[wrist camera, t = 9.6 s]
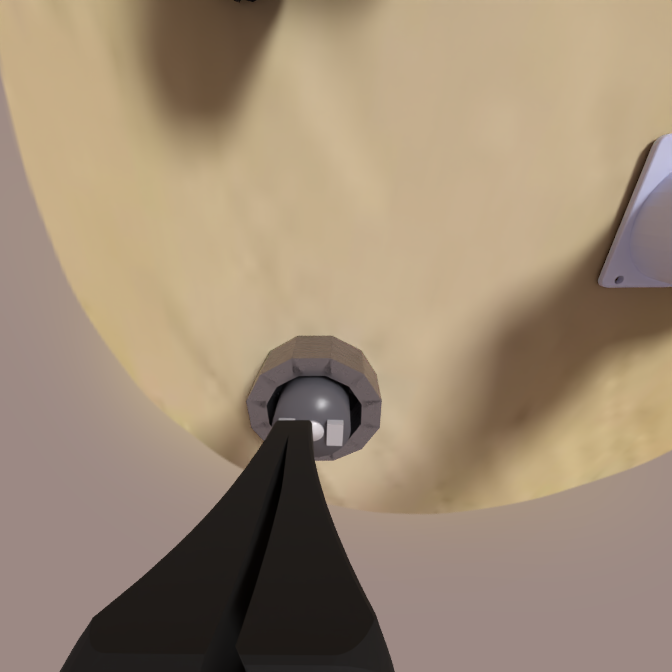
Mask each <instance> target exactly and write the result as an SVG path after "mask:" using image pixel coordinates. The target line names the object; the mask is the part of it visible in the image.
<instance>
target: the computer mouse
mask: <svg viewBox="0 0 672 672" xmlns="http://www.w3.org/2000/svg"><path fill="white" fill-rule="evenodd" d="M277 420H309V421H311V422H312V430H313V445H314V457H322V456H327V455H330V454H332V453H335V452H336V451H338V450H339V449H341V448H342V447H343V446H344V445H345V444H346V442H347V441H348V439H349V436H350V432H351V425H350V404H349V387H348V386H347V385H344V384H342V383H340V382H338V381H336V380H334V379H332V378H329V377H327V376H298V377H296V378H294V379H292V380H290V381H288V382H286V383H284V384H283V386H282V390H281V393H280V397H279V400H278V404H277V407H276V411H275V414H274V418H273V422H272V427H273V425H274V424H275V422H276V421H277Z"/></svg>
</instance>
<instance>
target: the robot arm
mask: <svg viewBox="0 0 672 672" xmlns="http://www.w3.org/2000/svg"><path fill="white" fill-rule="evenodd" d="M618 276H619V277H618ZM617 277H618V279H617V280H616V281H615V279H616V278H617ZM598 284H599V285H600V286H603V287H607V288H620V287H672V133H671V134H665V135H662V136H660V137H659V138H658V139H657V140H656V141H655V142H654V144H653V145H652V147H651V150H650V152H649V155H648V157H647V160H646V162H645V165H644V167H643V170H642V172H641V175H640V177H639V180H638V182H637V184H636V187H635V189H634V192H633V194H632V197H631V199H630V202H629V204H628V207H627V209H626V212H625V214H624V217H623V219H622V222H621V224H620V227H619V229H618V231H617V234H616V236H615V239H614V241H613V244H612V246H611V249H610V251H609V254H608V256H607V259H606V261H605V264H604V266H603V269H602V271H601V273H600V276H599V278H598ZM60 672H395V671H394V668H393V664H392V660H391V657H390V654H389V651H388V648H387V645H386V642H385V640H384V637H383V634H382V631H381V629H380V626H379V623H378V620H377V617H376V614H375V612H374V610H373V608H372V606H371V604H370V602H369V601H368V599H367V597H366V595H365V593H364V591H363V589H362V587H361V585H360V583H359V581H358V579H357V576H356V574H355V572H354V570H353V568H352V566H351V564H350V562H349V559H348V557H347V555H346V552H345V550H344V548H343V545H342V543H341V540H340V538H339V536H338V534H337V531H336V528H335V526H334V523H333V520H332V518H331V515H330V512H329V509H328V507H327V504H326V501H325V498H324V494H323V491H322V488H321V484H320V481H319V477H318V473H317V469H316V464H315V459H314V445H313V430H312V422H311V421H309V420H277V421H276V422H275V424H274V425H273V427H272V429H271V431H270V432H269V434H268V436H267V437H266V439H265V440H264V442H263V444H262V445H261V447H260V448H259V450H258V451H257V453H256V454H255V455H254V457H253V458H252V460H251V461H250V463H249V464H248V465H247V467H246V468H245V470H244V471H243V472H242V473H241V475H240V476H239V477H238V479H237V480H236V481H235V483H234V484H233V485H232V486H231V488H230V489H229V490H228V491H227V493H226V494H225V495H224V496H223V497H222V498H221V500H220V501H219V502H218V503H217V504H216V505H215V506H214V508H213V509H212V510H211V511H210V512H209V513H208V514H207V515H206V516H205V518H204V519H203V520H202V521H201V522H200V523H199V524H198V525H197V526H196V527H195V528H194V529H193V530H192V531H191V532H190V533H189V534H188V535H187V536H186V537H185V538H184V539H183V540H182V541H181V542H180V543H179V544H178V545H177V546H176V547H175V548H173V549H172V550H171V551H170V552H169V553H168V554H167V555H166V556H165V557H164V558H163V559H161V561H159V562H158V563H157V564H156V565H155V566H154V567H153V568H152V569H151V570H150V571H148V572H147V573H146V574H145V575H144V576H143V577H142V578H140V579H139V580H138V581H137V582H136V583H134V584H133V585H132V586H131V587H130V588H128V589H127V590H126V591H125V592H124V593H122V594H121V595H120V596H119V597H118V598H116V599H115V600H114V601H113V602H111V603H110V604H109V605H108V606H107V607H105V608H104V609H103V610H102V611H100V612H99V613H98V614H97V615H95V616H94V617H93V618H92V620H91V622H90V623H89V625H88V626H87V628H86V629H85V631H84V632H83V634H82V635H81V637H80V638H79V640H78V641H77V643H76V645H75V646H74V648H73V649H72V651H71V653H70V655H69V656H68V658H67V660H66V662H65V664H64V665H63V667H62V669H61V670H60Z"/></svg>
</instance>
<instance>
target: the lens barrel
mask: <svg viewBox="0 0 672 672" xmlns="http://www.w3.org/2000/svg"><path fill="white" fill-rule="evenodd" d="M298 376H327V377H329V378H332V379H334V380H336V381H338V382H340V383H342V384H344V385H347V386H348V387H349V404H350V425H351V432H350V436H349V439H348V441H347V442H346V444H345V445H344V446H343V447H342V448H341V449H339V450H338V451H336V452H335V453H332V454H330V455H327V456H322V457H314V459H315V461H333V460H336V459H338V458H341V457H343V456H346V455H348V454H351V453H353V452H355V451H358V450H360V449H362V448H363V447H364V446H365V444H366V443H367V442H368V441H369V440H370V438H371V437H372V436H373V435H374V434H375V433H376V431H377V430H378V429H379V428H380V416H381V402H382V400H381V395H380V390H379V385H378V380H377V375H376V373H375V371H374V370H373V368H372V367H371V365H370V364H369V362H368V360H367V359H366V357H365V356H364V354H363V353H362V351H361V350H359V349H357V348H355V347H353V346H351V345H349V344H347V343H345V342H343V341H341V340H339V339H337V338H335V337H333V336H297V337H295V338H293V339H291V340H290V341H288V342H286V343H284V344H282V345H280V346H279V347H277V348H275V349H273V350H271V351H270V352H269V354H268V356H267V358H266V360H265V362H264V364H263V366H262V368H261V369H260V371H259V373H258V375H257V377H256V380H255V382H254V384H253V387H252V389H251V391H250V394H249V396H248V398H247V400H246V402H247V407H248V413H249V418H250V423H251V428H252V429H253V430H254V431H255V432H256V433H257V434H258V435H259V436H260V437H261V438H262V439H263V440H265V439H266V437H267V436H268V434H269V432H270V431H271V429H272V422H273V418H274V414H275V411H276V407H277V404H278V400H279V397H280V393H281V390H282V386H283V384H284V383H286V382H288V381H290V380H292V379H294V378H296V377H298Z"/></svg>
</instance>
